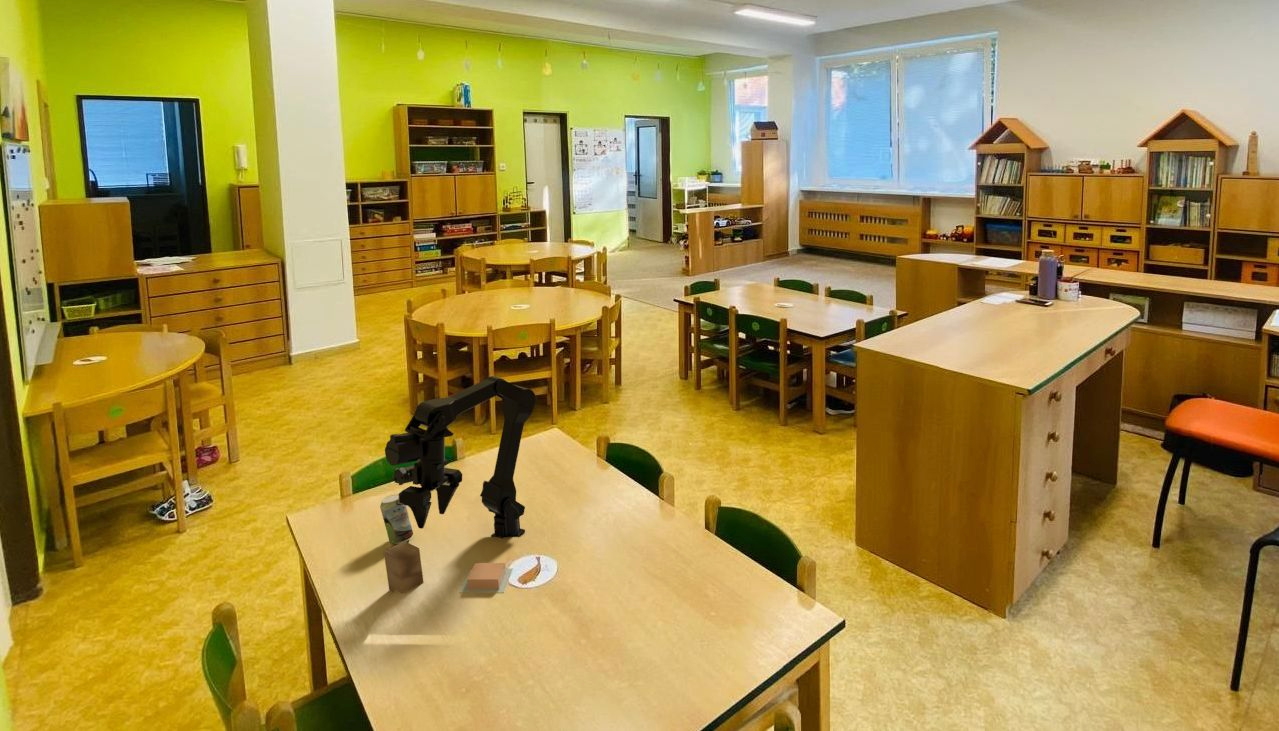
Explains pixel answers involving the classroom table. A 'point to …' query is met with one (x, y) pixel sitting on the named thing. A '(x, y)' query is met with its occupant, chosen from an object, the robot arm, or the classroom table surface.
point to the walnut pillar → (403, 567)
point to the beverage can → (396, 519)
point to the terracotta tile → (486, 576)
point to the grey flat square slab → (501, 590)
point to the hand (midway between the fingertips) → (431, 520)
